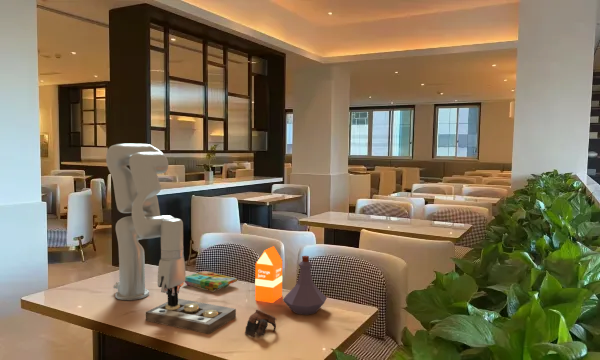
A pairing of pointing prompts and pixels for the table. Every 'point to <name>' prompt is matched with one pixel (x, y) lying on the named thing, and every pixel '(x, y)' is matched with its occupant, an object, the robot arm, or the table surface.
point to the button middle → (191, 308)
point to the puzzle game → (209, 280)
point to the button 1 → (172, 307)
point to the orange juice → (268, 276)
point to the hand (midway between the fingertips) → (172, 305)
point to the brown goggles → (259, 323)
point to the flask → (305, 292)
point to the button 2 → (210, 313)
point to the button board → (191, 316)
